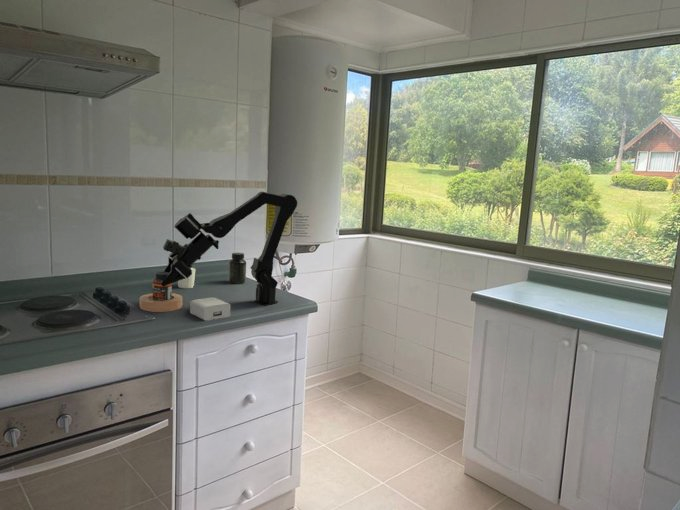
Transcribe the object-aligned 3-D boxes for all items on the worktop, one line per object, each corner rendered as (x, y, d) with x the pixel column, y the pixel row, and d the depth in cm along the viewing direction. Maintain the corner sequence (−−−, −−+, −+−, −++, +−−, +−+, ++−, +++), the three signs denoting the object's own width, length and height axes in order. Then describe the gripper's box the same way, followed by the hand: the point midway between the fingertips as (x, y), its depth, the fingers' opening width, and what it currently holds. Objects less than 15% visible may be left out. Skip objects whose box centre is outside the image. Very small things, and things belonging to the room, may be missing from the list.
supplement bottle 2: (240, 280, 215) (241, 251, 214) (248, 283, 210) (249, 254, 208) (225, 281, 211) (226, 252, 209) (233, 285, 206) (234, 255, 204)
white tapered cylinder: (190, 289, 195) (190, 271, 193) (173, 287, 196) (173, 269, 194) (198, 285, 201) (198, 267, 200) (181, 283, 202) (181, 266, 201)
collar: (190, 306, 171) (190, 298, 171) (156, 314, 161) (156, 305, 160) (165, 299, 179) (165, 290, 178) (131, 305, 168) (131, 296, 168)
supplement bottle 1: (149, 308, 167) (149, 274, 165) (155, 303, 173) (156, 270, 171) (168, 309, 167) (168, 275, 165) (173, 304, 173) (174, 271, 171)
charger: (206, 306, 174) (230, 317, 164) (180, 310, 168) (204, 321, 157) (206, 292, 174) (230, 302, 163) (181, 295, 167) (204, 306, 157)
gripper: (176, 227, 176) (141, 259, 174) (181, 235, 159) (143, 271, 157) (199, 250, 180) (166, 281, 178) (207, 260, 163) (170, 295, 161)
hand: (161, 282), depth 168 cm, fingers open, 9 cm apart
